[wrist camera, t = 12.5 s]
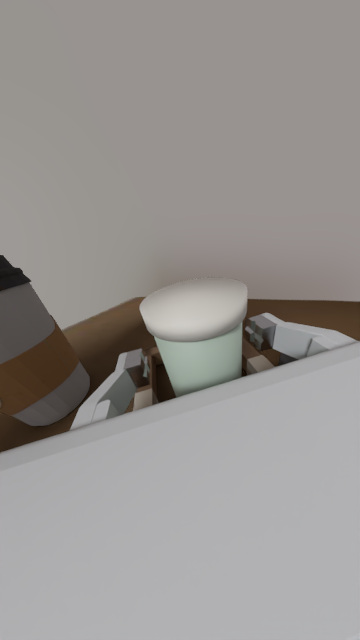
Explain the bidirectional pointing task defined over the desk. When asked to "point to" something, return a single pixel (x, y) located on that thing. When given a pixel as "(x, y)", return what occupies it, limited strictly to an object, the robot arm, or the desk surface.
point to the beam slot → (148, 394)
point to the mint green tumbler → (198, 331)
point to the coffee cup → (34, 356)
